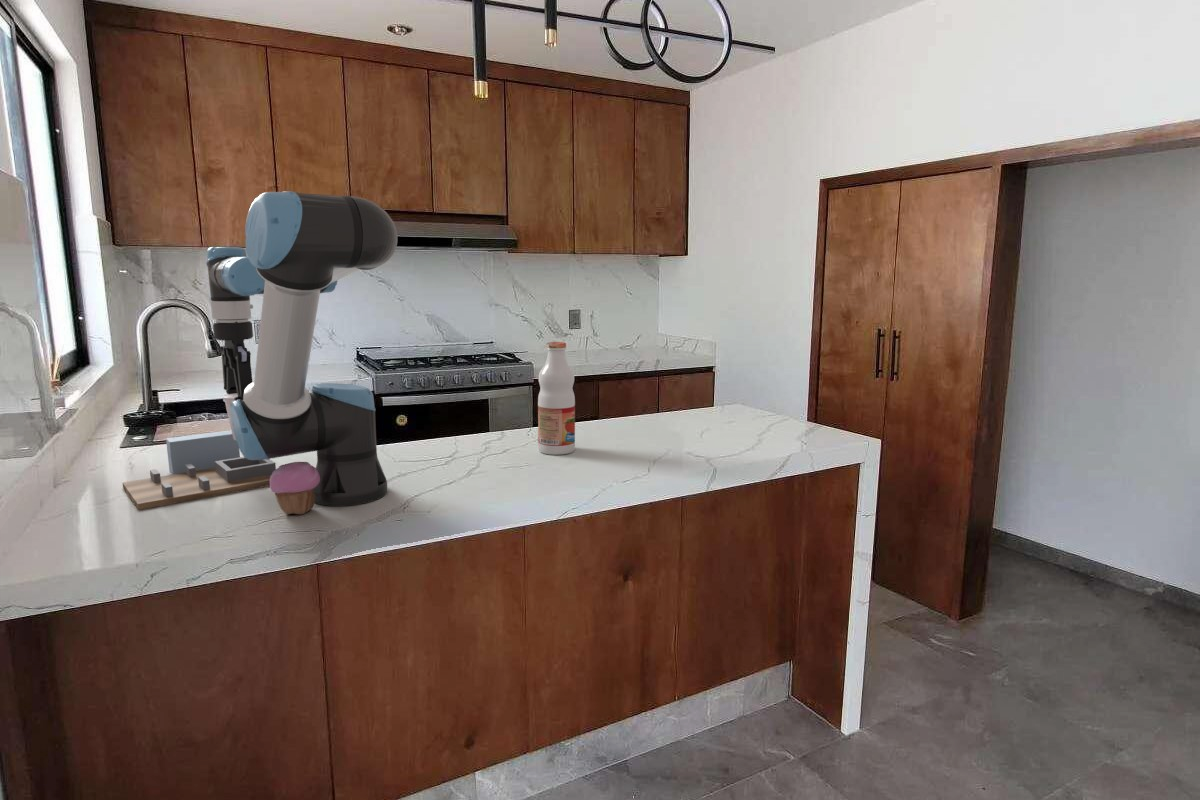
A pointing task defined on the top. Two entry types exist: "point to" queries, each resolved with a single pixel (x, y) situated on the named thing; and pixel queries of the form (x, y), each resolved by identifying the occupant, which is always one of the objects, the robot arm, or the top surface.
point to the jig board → (186, 488)
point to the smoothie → (228, 400)
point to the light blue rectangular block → (200, 450)
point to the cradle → (243, 468)
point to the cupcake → (295, 486)
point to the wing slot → (190, 472)
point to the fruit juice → (556, 403)
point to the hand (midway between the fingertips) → (241, 425)
